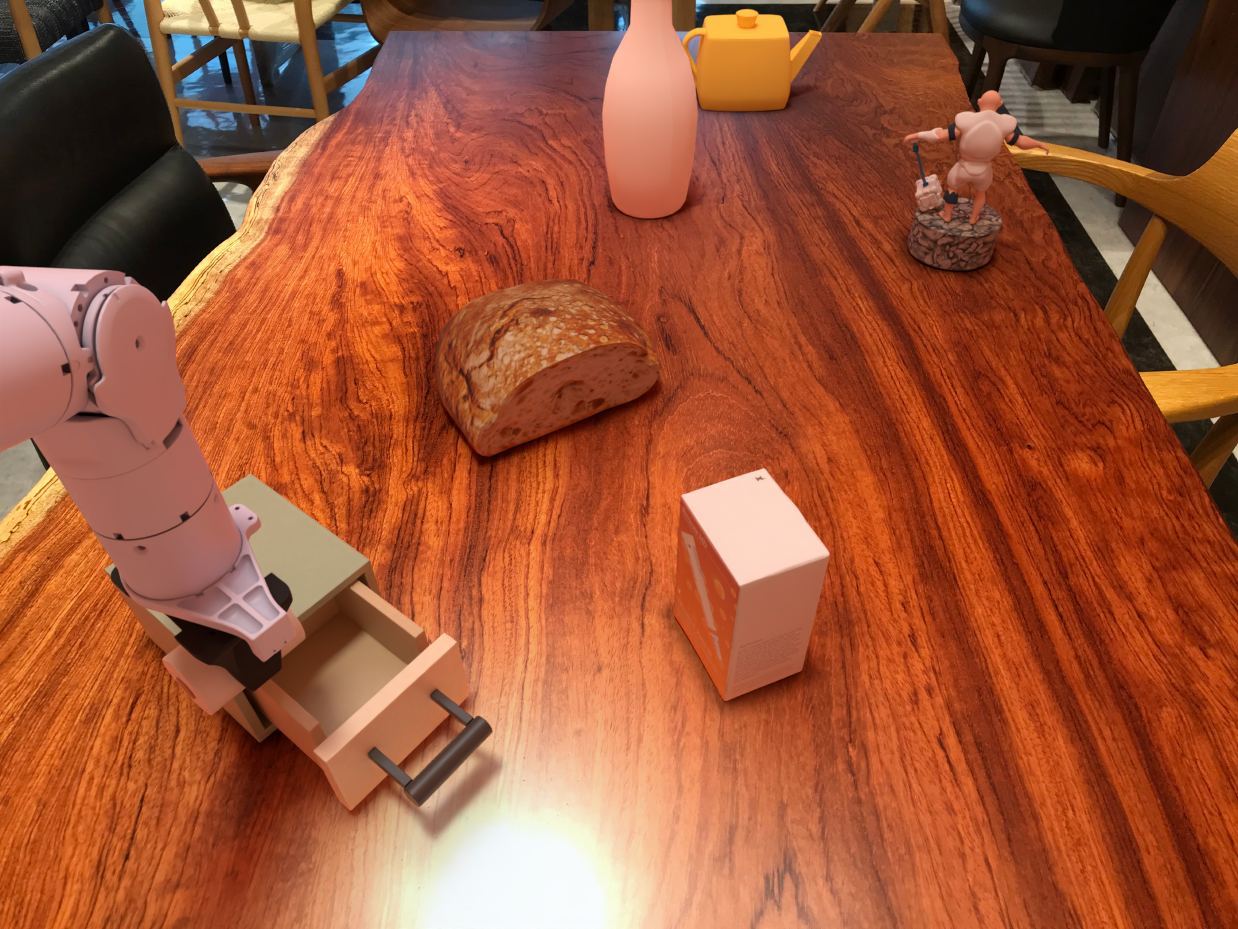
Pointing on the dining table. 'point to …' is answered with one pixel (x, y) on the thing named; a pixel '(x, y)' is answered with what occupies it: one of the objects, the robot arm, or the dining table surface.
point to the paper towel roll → (214, 674)
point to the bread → (539, 361)
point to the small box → (747, 581)
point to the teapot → (746, 61)
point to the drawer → (370, 697)
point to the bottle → (650, 115)
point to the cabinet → (291, 554)
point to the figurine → (950, 223)
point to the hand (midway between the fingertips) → (240, 655)
